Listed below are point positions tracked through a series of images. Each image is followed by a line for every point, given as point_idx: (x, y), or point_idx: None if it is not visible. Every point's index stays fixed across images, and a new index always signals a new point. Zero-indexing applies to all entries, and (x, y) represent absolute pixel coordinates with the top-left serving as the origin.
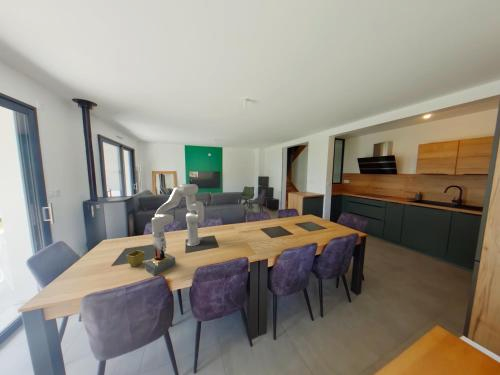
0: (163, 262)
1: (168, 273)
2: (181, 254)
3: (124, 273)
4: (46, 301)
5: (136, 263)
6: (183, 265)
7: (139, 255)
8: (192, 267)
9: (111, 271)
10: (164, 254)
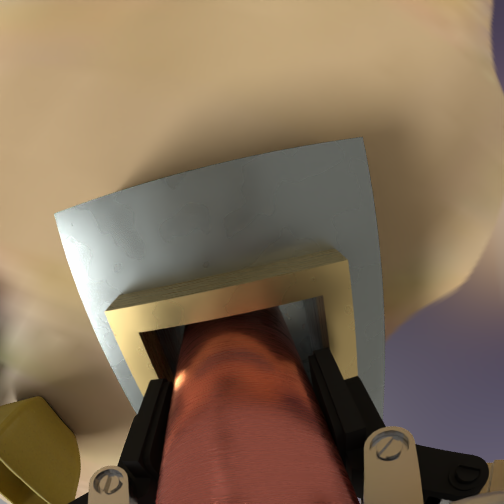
0: (374, 349)
1: (424, 277)
2: (104, 11)
3: None
4: None
5: (70, 448)
6: (402, 92)
7: (31, 474)
8: (481, 69)
9: (80, 494)
10: (344, 383)
